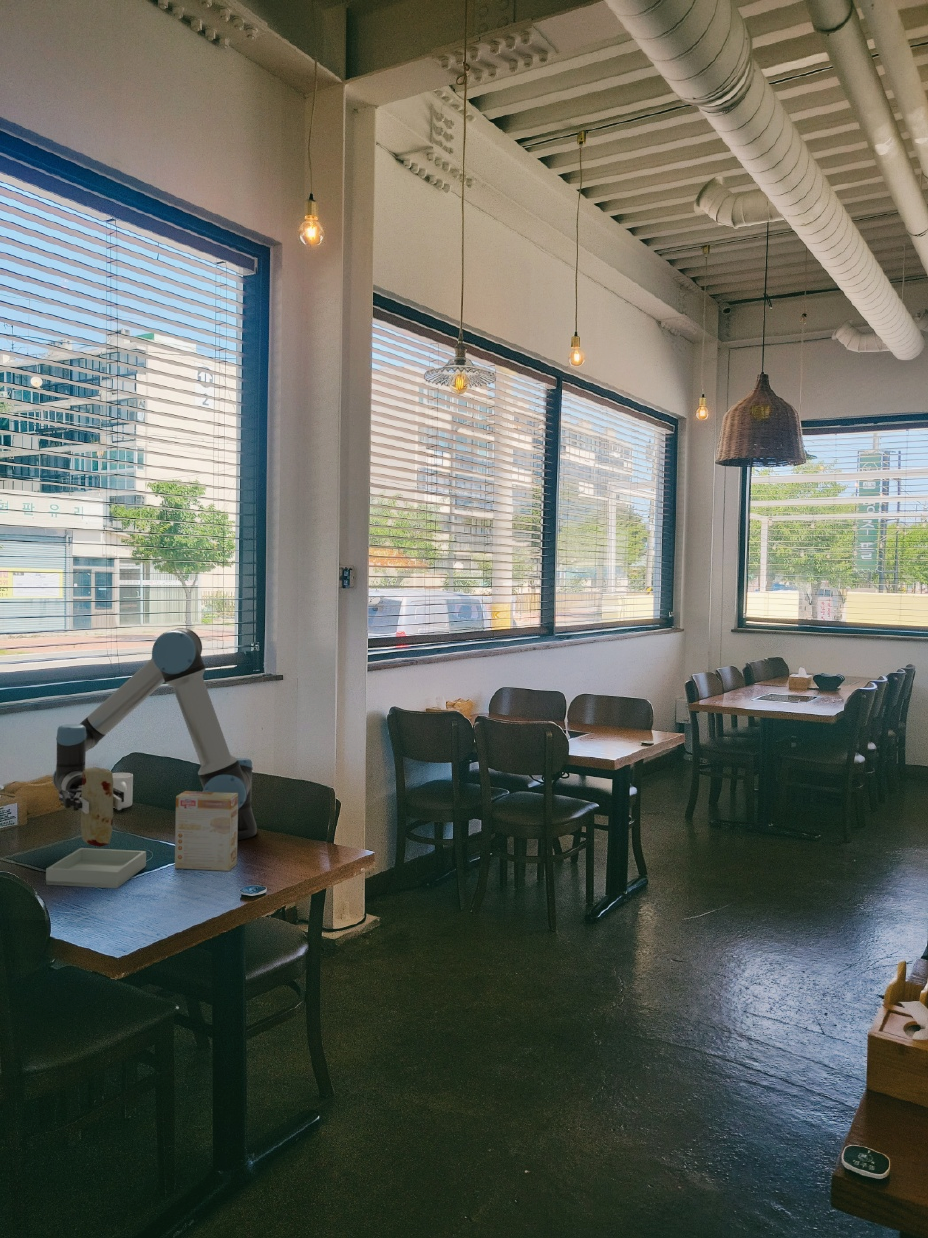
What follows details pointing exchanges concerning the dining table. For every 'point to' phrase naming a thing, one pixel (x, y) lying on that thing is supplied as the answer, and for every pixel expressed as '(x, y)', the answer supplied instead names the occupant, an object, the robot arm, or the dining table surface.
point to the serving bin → (96, 868)
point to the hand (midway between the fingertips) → (103, 806)
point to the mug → (124, 787)
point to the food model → (97, 806)
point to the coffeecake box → (206, 830)
